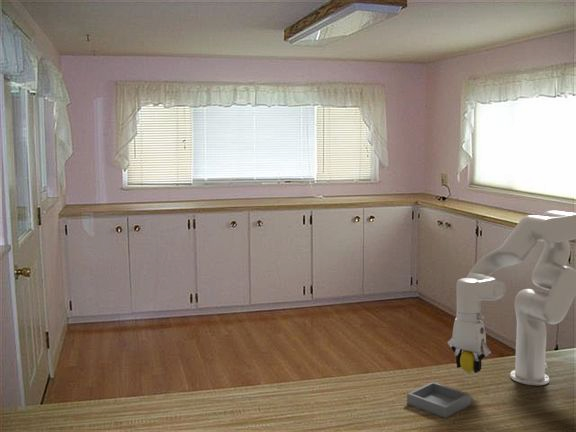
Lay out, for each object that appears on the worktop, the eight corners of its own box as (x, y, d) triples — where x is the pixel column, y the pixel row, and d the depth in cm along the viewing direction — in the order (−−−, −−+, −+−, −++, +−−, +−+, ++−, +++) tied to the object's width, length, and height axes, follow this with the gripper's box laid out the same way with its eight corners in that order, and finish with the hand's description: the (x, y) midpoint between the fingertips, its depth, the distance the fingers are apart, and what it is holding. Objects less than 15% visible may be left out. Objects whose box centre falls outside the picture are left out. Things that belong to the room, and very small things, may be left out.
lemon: (478, 376, 189) (478, 353, 188) (460, 376, 190) (460, 352, 189) (476, 370, 194) (476, 347, 194) (459, 369, 196) (459, 346, 195)
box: (432, 391, 192) (432, 381, 191) (470, 405, 181) (470, 394, 181) (406, 404, 182) (407, 393, 182) (445, 419, 172) (446, 407, 172)
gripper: (498, 318, 186) (498, 372, 188) (451, 308, 199) (451, 359, 201) (487, 324, 181) (486, 379, 183) (439, 313, 194) (439, 365, 196)
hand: (468, 368), depth 192 cm, fingers closed on lemon, 5 cm apart
